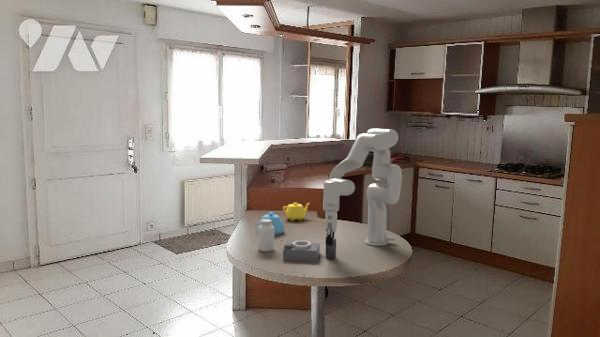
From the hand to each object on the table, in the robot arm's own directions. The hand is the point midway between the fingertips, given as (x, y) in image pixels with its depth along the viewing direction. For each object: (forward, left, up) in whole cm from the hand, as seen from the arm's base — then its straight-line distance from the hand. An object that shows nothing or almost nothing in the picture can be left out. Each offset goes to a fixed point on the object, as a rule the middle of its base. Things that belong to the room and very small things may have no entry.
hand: (329, 242), depth 219 cm
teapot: (+27, -72, -8) cm, 77 cm away
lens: (0, -1, -8) cm, 8 cm away
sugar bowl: (+37, -40, -8) cm, 54 cm away
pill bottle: (+33, -9, -8) cm, 35 cm away
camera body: (+14, -1, -8) cm, 16 cm away
